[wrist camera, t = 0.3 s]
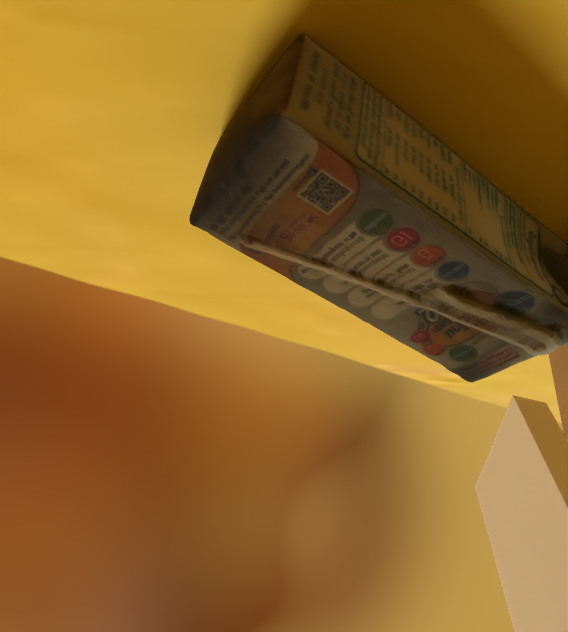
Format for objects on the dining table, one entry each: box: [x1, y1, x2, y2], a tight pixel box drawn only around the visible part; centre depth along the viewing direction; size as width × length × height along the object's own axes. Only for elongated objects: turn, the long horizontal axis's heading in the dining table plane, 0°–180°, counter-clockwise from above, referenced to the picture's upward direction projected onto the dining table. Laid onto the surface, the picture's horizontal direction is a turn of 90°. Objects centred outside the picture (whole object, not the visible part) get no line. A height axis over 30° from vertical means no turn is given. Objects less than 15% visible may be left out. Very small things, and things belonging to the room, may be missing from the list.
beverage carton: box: [190, 34, 568, 382], centre depth 26 cm, size 8×19×7 cm, turn 55°
